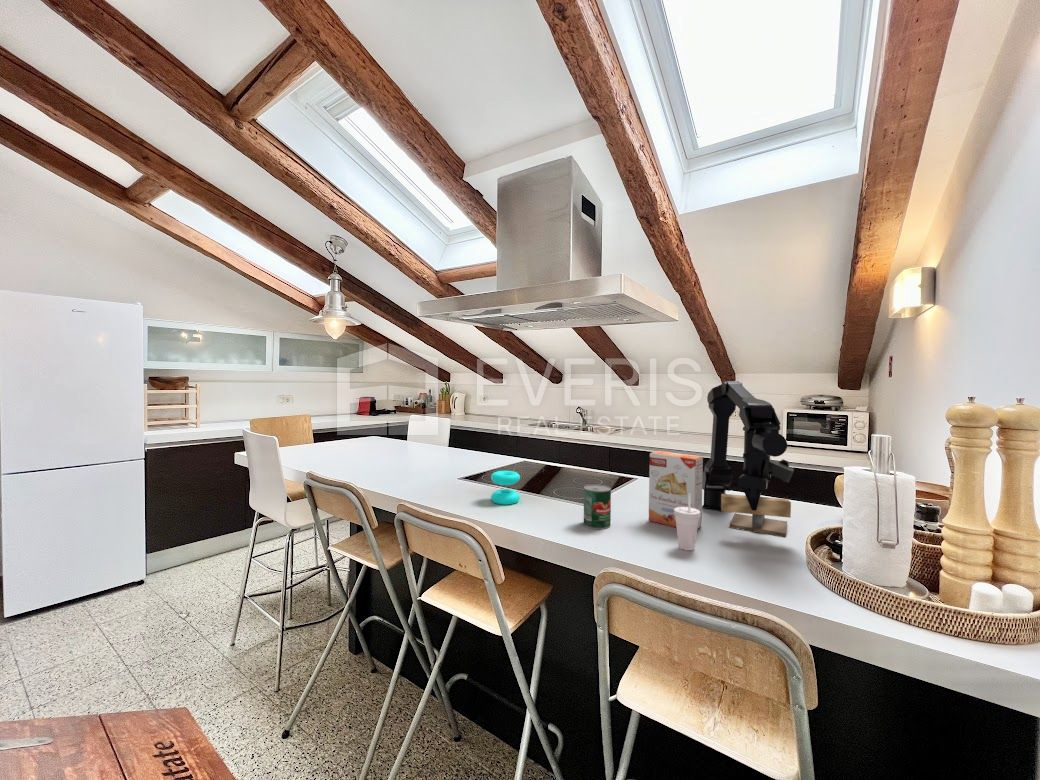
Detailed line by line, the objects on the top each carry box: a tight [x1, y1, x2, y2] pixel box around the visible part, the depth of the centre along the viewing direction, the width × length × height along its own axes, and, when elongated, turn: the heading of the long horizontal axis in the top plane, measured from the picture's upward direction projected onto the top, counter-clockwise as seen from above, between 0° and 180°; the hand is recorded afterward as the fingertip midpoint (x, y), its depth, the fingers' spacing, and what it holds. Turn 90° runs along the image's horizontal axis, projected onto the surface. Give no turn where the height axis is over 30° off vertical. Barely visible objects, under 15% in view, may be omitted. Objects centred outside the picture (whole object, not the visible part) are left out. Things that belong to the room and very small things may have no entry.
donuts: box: [490, 470, 521, 506], centre depth 154 cm, size 10×10×10 cm
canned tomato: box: [583, 484, 612, 530], centre depth 130 cm, size 8×8×11 cm
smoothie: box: [674, 493, 701, 551], centre depth 113 cm, size 6×6×14 cm
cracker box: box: [648, 450, 704, 530], centre depth 131 cm, size 14×6×21 cm, turn 47°
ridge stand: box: [728, 513, 788, 538], centre depth 130 cm, size 14×12×6 cm
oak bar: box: [721, 493, 792, 518], centre depth 118 cm, size 16×3×4 cm, turn 72°
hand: (754, 508), depth 118 cm, fingers closed on oak bar, 3 cm apart
